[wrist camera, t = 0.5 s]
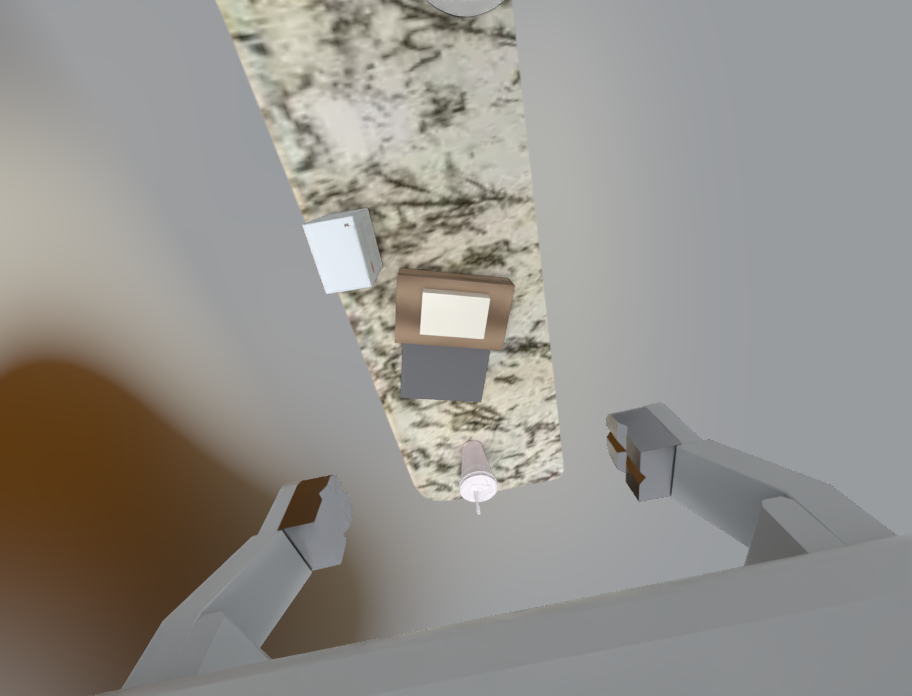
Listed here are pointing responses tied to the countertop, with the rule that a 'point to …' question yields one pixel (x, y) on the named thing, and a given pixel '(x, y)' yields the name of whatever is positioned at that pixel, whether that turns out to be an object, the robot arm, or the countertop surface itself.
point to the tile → (454, 313)
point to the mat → (443, 372)
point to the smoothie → (476, 475)
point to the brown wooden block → (416, 280)
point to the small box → (344, 250)
